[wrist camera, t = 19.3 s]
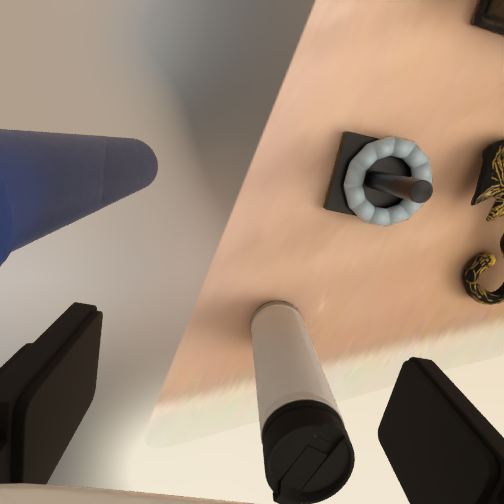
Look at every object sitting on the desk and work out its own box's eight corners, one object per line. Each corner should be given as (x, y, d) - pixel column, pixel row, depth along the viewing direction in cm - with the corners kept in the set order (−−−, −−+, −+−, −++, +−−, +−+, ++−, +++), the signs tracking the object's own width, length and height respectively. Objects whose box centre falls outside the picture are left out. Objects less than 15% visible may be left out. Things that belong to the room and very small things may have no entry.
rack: (323, 207, 38) (357, 231, 27) (343, 131, 36) (389, 126, 25) (391, 221, 39) (450, 250, 28) (415, 148, 37) (489, 149, 26)
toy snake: (526, 322, 38) (438, 300, 37) (498, 305, 42) (418, 286, 42) (606, 153, 33) (507, 127, 33) (565, 155, 38) (477, 132, 37)
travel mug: (239, 334, 42) (243, 491, 23) (269, 290, 41) (300, 420, 21) (282, 357, 43) (320, 524, 24) (312, 315, 42) (379, 459, 23)
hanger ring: (332, 214, 37) (337, 217, 36) (356, 129, 35) (362, 128, 33) (409, 230, 38) (417, 234, 36) (437, 147, 36) (448, 148, 34)
